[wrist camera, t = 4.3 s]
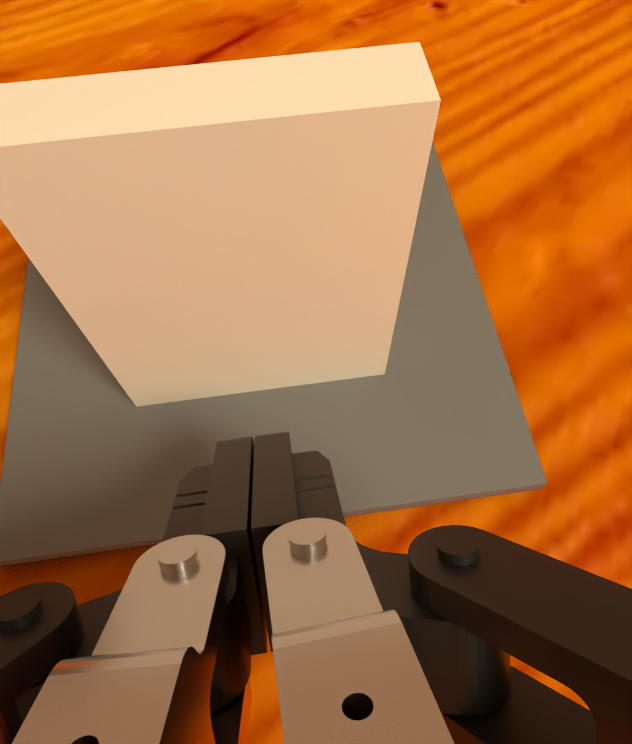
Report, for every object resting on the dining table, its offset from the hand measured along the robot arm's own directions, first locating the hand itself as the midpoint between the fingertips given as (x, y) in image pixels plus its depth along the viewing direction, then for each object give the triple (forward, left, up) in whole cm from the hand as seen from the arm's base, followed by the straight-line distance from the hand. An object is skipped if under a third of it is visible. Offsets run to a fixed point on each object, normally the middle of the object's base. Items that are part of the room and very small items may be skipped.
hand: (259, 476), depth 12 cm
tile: (+3, +4, -5) cm, 7 cm away
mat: (+5, +9, -5) cm, 12 cm away
